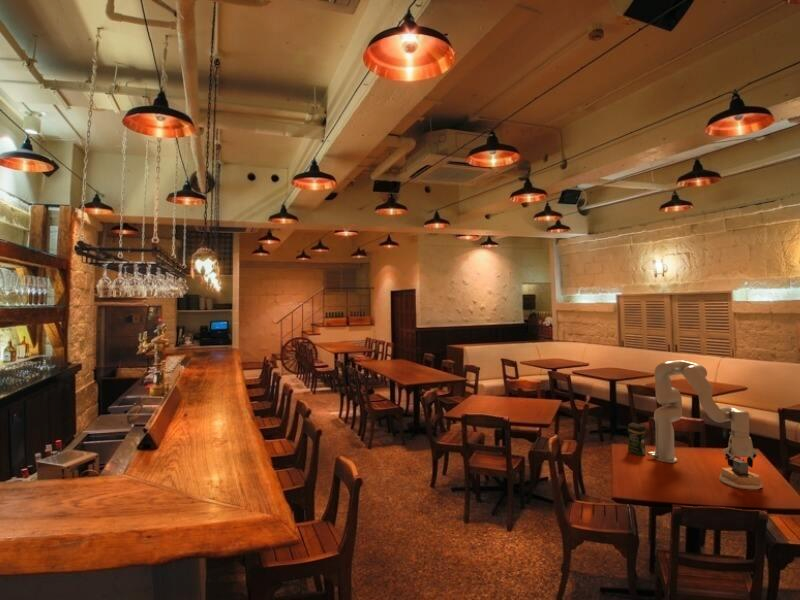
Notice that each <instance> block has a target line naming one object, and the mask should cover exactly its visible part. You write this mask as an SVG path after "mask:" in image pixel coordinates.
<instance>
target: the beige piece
mask: <svg viewBox="0 0 800 600" xmlns="http://www.w3.org/2000/svg"><path fill="white" fill-rule="evenodd" d="M720 471H721V472H720V474H719V481H720V482H721V483H722V484H725V485H726V486H729V487H731V488H733V489H734V488H736V489H738V488H739V489H740V490H744V489H747V490H746V491H756V490H755V489H760V488H762V489H763V483H762V481H761V475H758V474H756V473H755V472H751V471H749V470H748V475H738V474H737V473H735V472H733V471H732V467H721V469H720ZM748 489H749V490H748ZM760 490H761V489H760Z"/></svg>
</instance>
